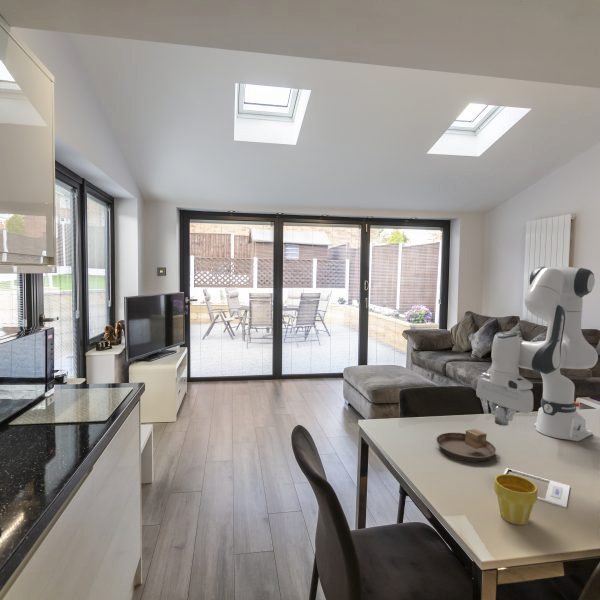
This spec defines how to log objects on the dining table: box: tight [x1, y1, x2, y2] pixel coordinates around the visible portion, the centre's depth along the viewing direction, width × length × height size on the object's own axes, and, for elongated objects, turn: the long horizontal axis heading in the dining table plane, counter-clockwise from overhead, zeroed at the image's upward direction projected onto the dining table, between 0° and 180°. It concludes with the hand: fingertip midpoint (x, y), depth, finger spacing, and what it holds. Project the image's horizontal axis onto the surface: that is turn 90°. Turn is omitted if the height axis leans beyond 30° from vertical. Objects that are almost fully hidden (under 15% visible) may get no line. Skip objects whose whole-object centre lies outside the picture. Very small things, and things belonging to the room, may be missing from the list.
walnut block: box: [465, 428, 488, 449], centre depth 149 cm, size 5×5×5 cm
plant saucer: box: [436, 432, 497, 463], centre depth 150 cm, size 21×21×3 cm
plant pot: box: [493, 473, 539, 526], centre depth 109 cm, size 10×10×10 cm
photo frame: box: [503, 467, 571, 509], centre depth 126 cm, size 15×1×18 cm
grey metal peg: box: [493, 404, 510, 427], centre depth 141 cm, size 4×4×6 cm
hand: (501, 417), depth 141 cm, fingers closed on grey metal peg, 4 cm apart
